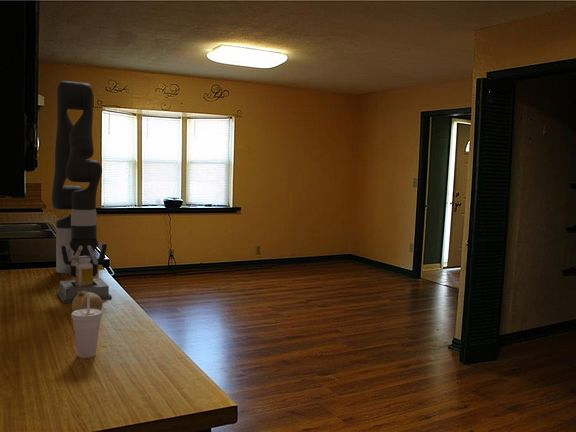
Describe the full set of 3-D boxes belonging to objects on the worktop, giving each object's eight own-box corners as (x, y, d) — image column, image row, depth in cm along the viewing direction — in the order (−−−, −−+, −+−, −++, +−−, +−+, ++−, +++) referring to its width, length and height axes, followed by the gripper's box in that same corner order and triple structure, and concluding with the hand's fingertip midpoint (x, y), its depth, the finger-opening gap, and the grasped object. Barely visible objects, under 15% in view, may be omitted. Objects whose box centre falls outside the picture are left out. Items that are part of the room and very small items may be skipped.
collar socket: (56, 293, 169) (56, 281, 169) (102, 289, 177) (102, 277, 176) (63, 303, 157) (63, 290, 157) (111, 298, 165) (111, 286, 164)
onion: (85, 310, 152) (85, 285, 151) (108, 313, 149) (108, 288, 149) (65, 317, 144) (65, 291, 144) (89, 320, 142) (89, 295, 141)
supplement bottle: (96, 285, 169) (96, 256, 168) (88, 289, 164) (88, 258, 163) (80, 284, 170) (80, 255, 169) (71, 288, 164) (71, 258, 164)
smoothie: (83, 362, 112) (83, 298, 111) (64, 355, 115) (64, 293, 114) (108, 354, 117) (108, 292, 116) (89, 347, 121) (89, 288, 120)
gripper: (104, 221, 172) (104, 272, 173) (57, 222, 164) (57, 276, 166) (110, 224, 165) (109, 277, 167) (61, 225, 158) (61, 280, 160)
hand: (83, 276), depth 167 cm, fingers closed on supplement bottle, 5 cm apart
